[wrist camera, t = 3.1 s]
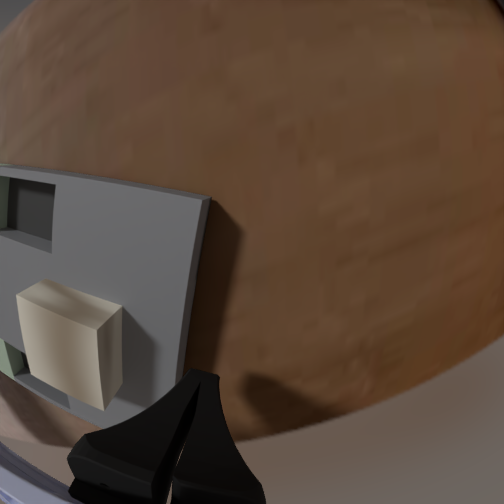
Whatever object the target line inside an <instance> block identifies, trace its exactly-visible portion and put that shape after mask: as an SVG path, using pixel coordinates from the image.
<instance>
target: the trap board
mask: <svg viewBox="0 0 504 504" xmlns="http://www.w3.org/2000/svg"><path fill="white" fill-rule="evenodd" d="M211 199H212V197H209V196H205V195H200V194H195V193H190V192H185V191H180V190H174V189H169V188H164V187H158V186H153V185H147V184H142V183H136V182H130V181H124V180H119V179H112V178H106V177H100V176H94V175H87V174H80V173H74V172H67V171H59V170H52V169H44V168H36V167H28V166H19V165H10V164H1V163H0V371H1V372H3V373H4V374H6V375H7V376H9V377H10V378H12V379H13V380H14V381H16V382H17V383H19V384H21V385H22V386H24V387H25V388H27V389H28V390H30V391H32V392H33V393H35V394H37V395H38V396H40V397H42V398H43V399H45V400H47V401H49V402H50V403H52V404H54V405H56V406H58V407H60V408H61V409H63V410H65V411H67V412H69V413H71V414H73V415H75V416H77V417H79V418H81V419H83V420H85V421H88V422H90V423H92V424H94V425H96V426H99V427H101V428H103V429H105V428H108V427H111V426H113V425H116V424H118V423H121V422H123V421H125V420H127V419H129V418H131V417H133V416H135V415H137V414H139V413H140V412H142V411H144V410H145V409H147V408H148V407H150V406H151V405H153V404H154V403H155V402H157V401H158V400H159V399H160V398H162V397H163V396H164V395H165V394H166V393H167V392H169V391H170V390H171V389H172V388H173V387H174V386H175V385H176V384H177V383H178V382H179V381H180V380H181V379H182V377H183V369H184V361H185V353H186V346H187V338H188V331H189V324H190V318H191V311H192V305H193V298H194V292H195V286H196V280H197V274H198V268H199V262H200V257H201V251H202V245H203V240H204V235H205V229H206V224H207V219H208V214H209V209H210V204H211ZM45 278H46V279H49V280H51V281H54V282H56V283H59V284H62V285H64V286H67V287H70V288H72V289H75V290H78V291H81V292H83V293H86V294H89V295H92V296H95V297H98V298H101V299H103V300H106V301H109V302H112V303H116V304H119V305H122V376H123V384H122V385H121V387H120V388H119V390H118V391H117V393H116V394H115V396H114V397H113V399H112V400H111V402H110V403H109V405H108V406H107V408H106V409H105V411H103V410H100V409H98V408H96V407H93V406H91V405H89V404H87V403H84V402H82V401H80V400H78V399H76V398H74V397H72V396H70V395H68V394H66V393H64V392H62V391H60V390H58V389H56V388H54V387H53V386H51V385H49V384H47V383H45V382H43V381H42V380H40V379H38V378H36V377H35V376H33V375H31V372H30V368H29V364H28V360H27V356H26V351H25V347H24V342H23V337H22V332H21V326H20V320H19V313H18V306H17V298H16V294H18V293H20V292H22V291H23V290H25V289H27V288H29V287H31V286H32V285H34V284H36V283H38V282H40V281H42V280H44V279H45Z"/></svg>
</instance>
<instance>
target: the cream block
mask: <svg viewBox="0 0 504 504" xmlns="http://www.w3.org/2000/svg"><path fill="white" fill-rule="evenodd" d="M16 298H17V306H18V313H19V320H20V326H21V332H22V337H23V342H24V347H25V351H26V356H27V360H28V364H29V368H30V372H31V375H33V376H35V377H36V378H38V379H40V380H42V381H43V382H45V383H47V384H49V385H51V386H53V387H54V388H56V389H58V390H60V391H62V392H64V393H66V394H68V395H70V396H72V397H74V398H76V399H78V400H80V401H82V402H84V403H87V404H89V405H91V406H93V407H96V408H98V409H100V410H103V411H105V409H106V408H107V406H108V405H109V403H110V402H111V400H112V399H113V397H114V396H115V394H116V393H117V391H118V390H119V388H120V387H121V385H122V384H123V376H122V305H119V304H116V303H112V302H109V301H106V300H103V299H101V298H98V297H95V296H92V295H89V294H86V293H83V292H81V291H78V290H75V289H72V288H70V287H67V286H64V285H62V284H59V283H56V282H54V281H51V280H49V279H46V278H45V279H44V280H42V281H40V282H38V283H36V284H34V285H32V286H31V287H29V288H27V289H25V290H23V291H22V292H20V293H18V294H16Z"/></svg>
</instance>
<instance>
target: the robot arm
mask: <svg viewBox="0 0 504 504" xmlns="http://www.w3.org/2000/svg"><path fill="white" fill-rule="evenodd" d="M219 379H220V377H219V376H218V375H217V374H213V373H208V372H204V371H200V370H197V369H193V368H191V369H189V370H188V371H187V373H186V374H185V375H184V376H183V377H182V379H181V380H180V381H179V382H178V383H177V384H176V385H175V386H174V387H173V388H172V389H171V390H170V391H169V392H167V393H166V394H165V395H164V396H163V397H162V398H160V399H159V400H158V401H157V402H155V403H154V404H153V405H151V406H150V407H148V408H147V409H145V410H144V411H142V412H140V413H139V414H137V415H135V416H133V417H131V418H129V419H127V420H125V421H123V422H121V423H118V424H116V425H113V426H111V427H108V428H105V429H102V430H99V431H95V432H91V433H87V434H84V435H83V436H82V438H81V439H80V440H79V441H78V442H77V443H76V444H75V446H74V447H73V449H72V450H71V452H70V453H69V455H68V457H67V461H68V464H69V466H70V469H71V471H72V473H73V475H74V477H75V479H74V481H73V482H72V484H71V486H70V487H69V486H67V485H65V484H63V483H61V482H60V481H58V480H56V479H55V478H53V477H51V476H49V475H48V474H46V473H44V472H43V471H41V470H40V469H38V468H37V467H35V466H33V465H32V464H30V463H29V462H27V461H26V460H24V459H23V458H22V457H20V456H19V455H17V454H16V453H15V452H13V451H12V450H10V449H9V448H8V447H6V446H5V445H4V444H3V443H1V442H0V499H1V500H2V501H3V502H5V503H6V504H166V502H167V498H168V495H169V491H170V487H171V483H172V497H171V503H170V504H266V499H265V495H264V491H263V488H262V485H261V483H260V482H259V481H258V480H257V478H256V477H255V476H254V474H253V473H252V472H251V471H250V469H249V468H248V466H247V465H246V463H245V462H244V460H243V458H242V457H241V455H240V453H239V452H238V450H237V448H236V446H235V444H234V441H233V439H232V437H231V435H230V432H229V430H228V427H227V424H226V421H225V417H224V414H223V410H222V405H221V400H220V392H219ZM186 439H187V440H186ZM185 441H186V443H185ZM184 444H185V445H184ZM183 446H184V448H183ZM182 449H183V451H182ZM181 451H182V453H181ZM180 453H181V456H180ZM179 456H180V459H179ZM178 459H179V461H178ZM177 462H178V464H177ZM176 465H177V466H176Z"/></svg>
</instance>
